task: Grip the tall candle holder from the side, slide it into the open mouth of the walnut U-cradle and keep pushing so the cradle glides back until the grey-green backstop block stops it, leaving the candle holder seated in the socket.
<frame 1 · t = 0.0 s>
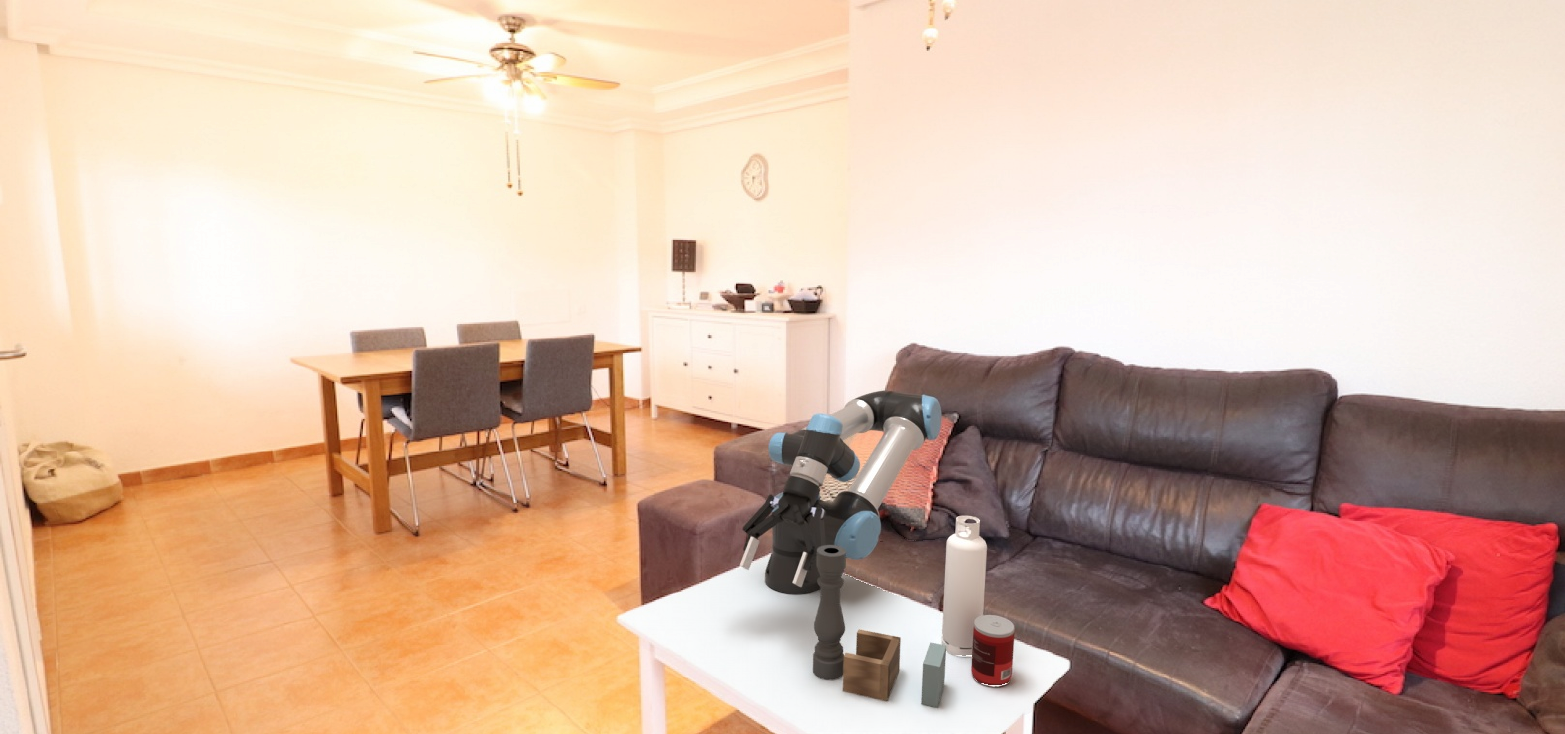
hand: (769, 576, 152), 15 cm above the table, tool tilted 35°, fingers open, 13 cm apart
backstop: (933, 693, 138), on the table
candle holder: (828, 672, 145), on the table
canned food: (990, 677, 144), on the table
cradle: (872, 663, 141), point 4 cm above the table, slide at 0.0 cm
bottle: (961, 647, 155), on the table
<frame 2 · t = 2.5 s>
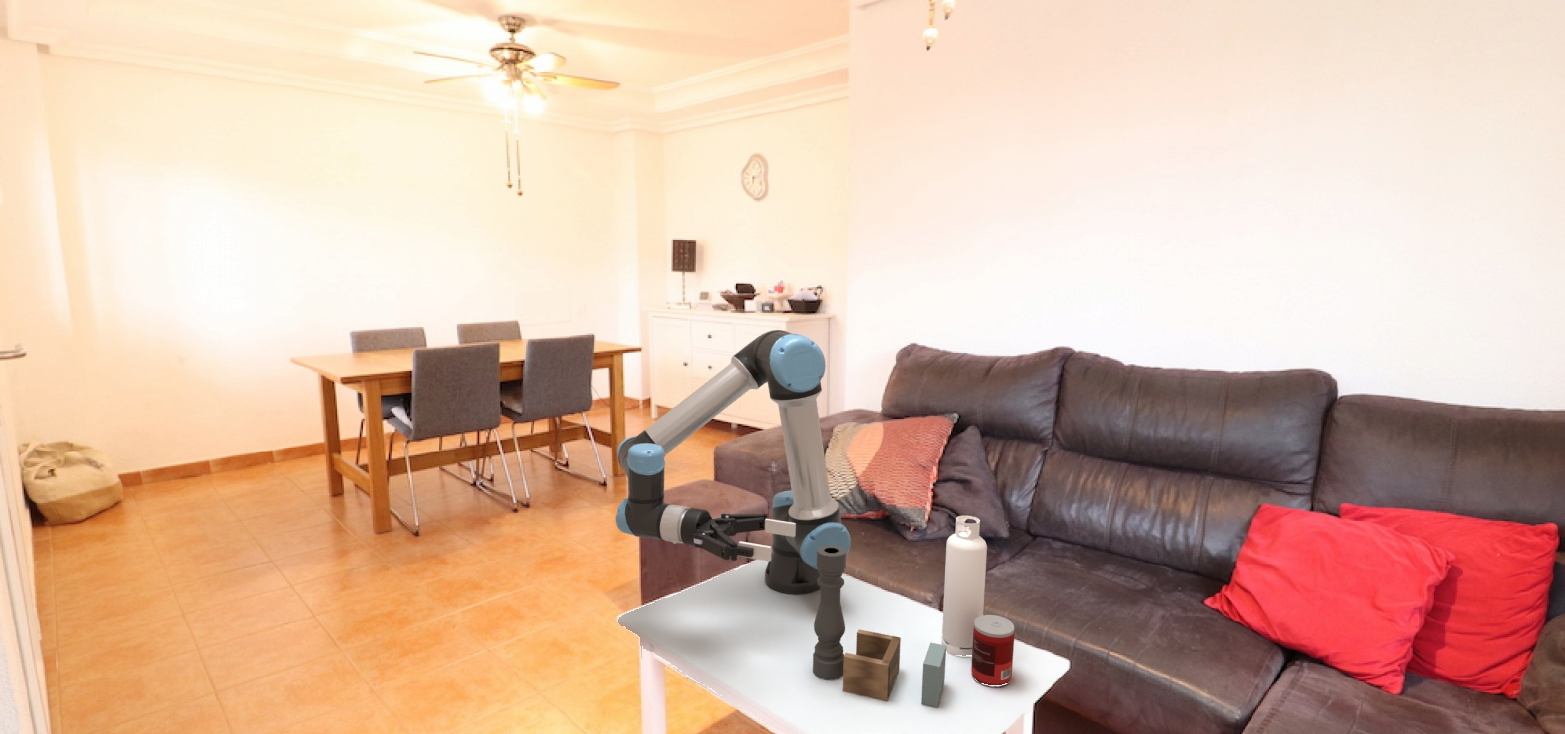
hand: (783, 541, 145), 25 cm above the table, tool horizontal, fingers open, 13 cm apart
nothing on the table moved.
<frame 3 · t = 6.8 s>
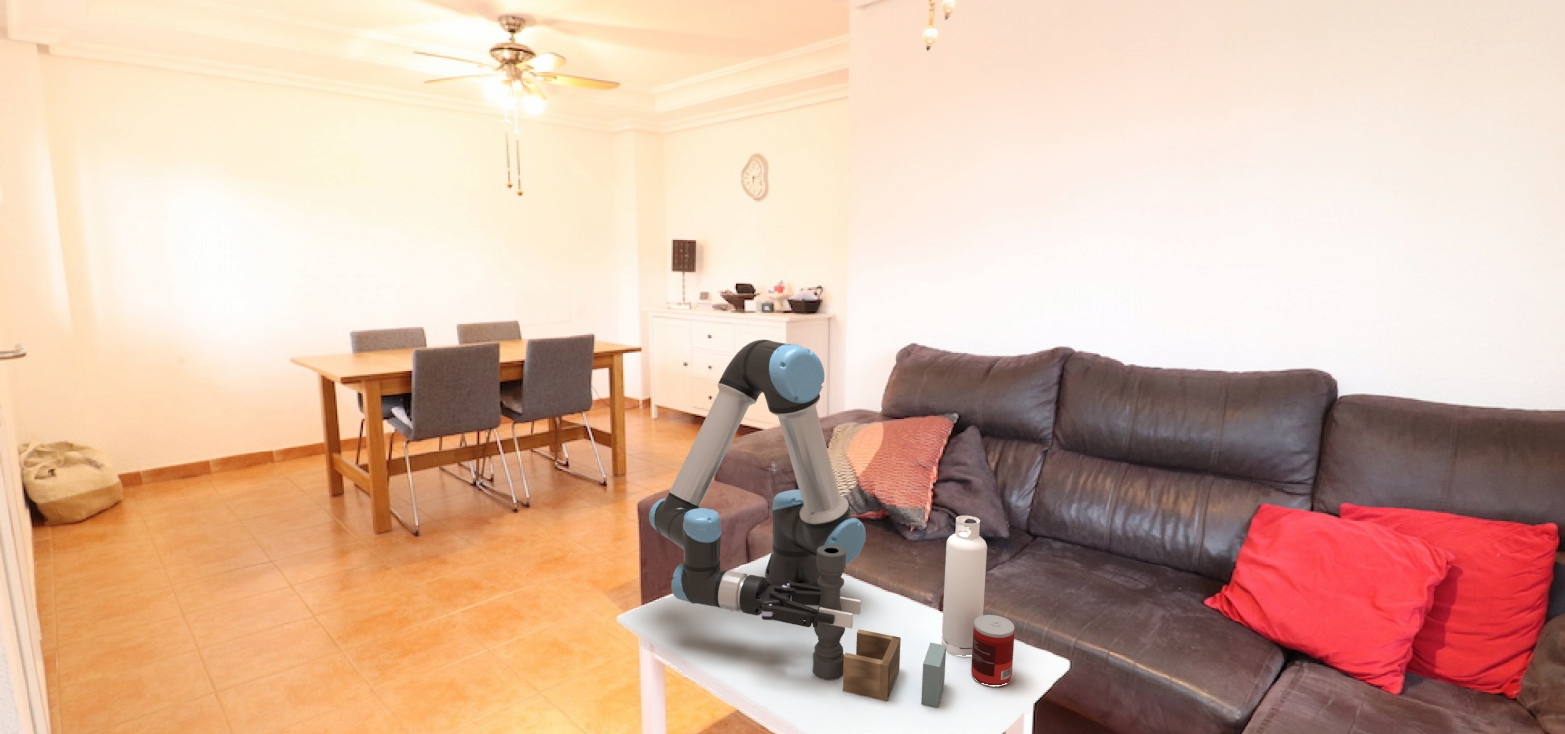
hand: (856, 614, 141), 13 cm above the table, tool horizontal, fingers closed on candle holder, 5 cm apart
candle holder: (828, 672, 145), on the table, touching gripper
everything else where it was.
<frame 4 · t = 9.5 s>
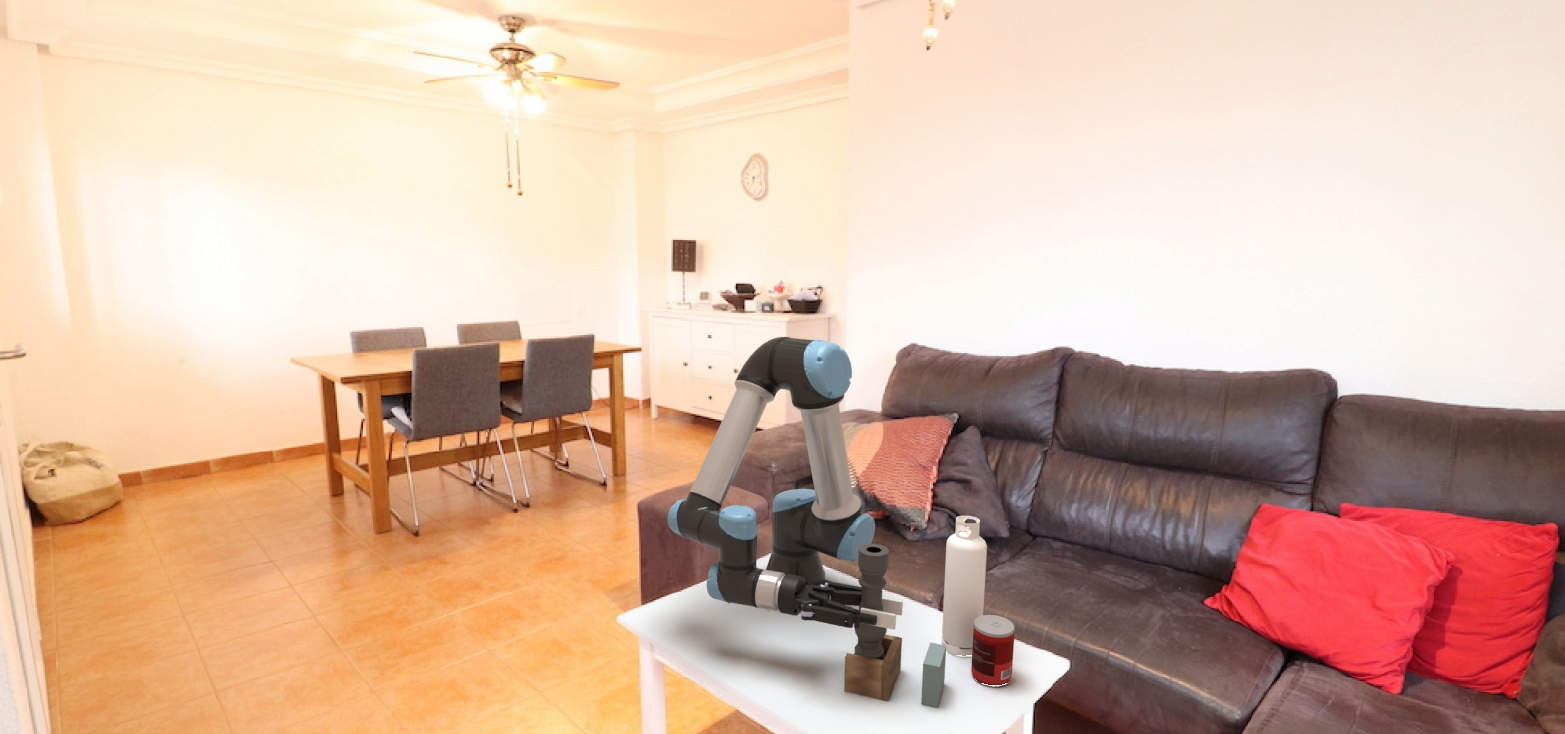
hand: (898, 614, 137), 15 cm above the table, tool horizontal, fingers closed on candle holder, 5 cm apart
candle holder: (868, 673, 141), point 2 cm above the table, touching gripper
everything else where it was.
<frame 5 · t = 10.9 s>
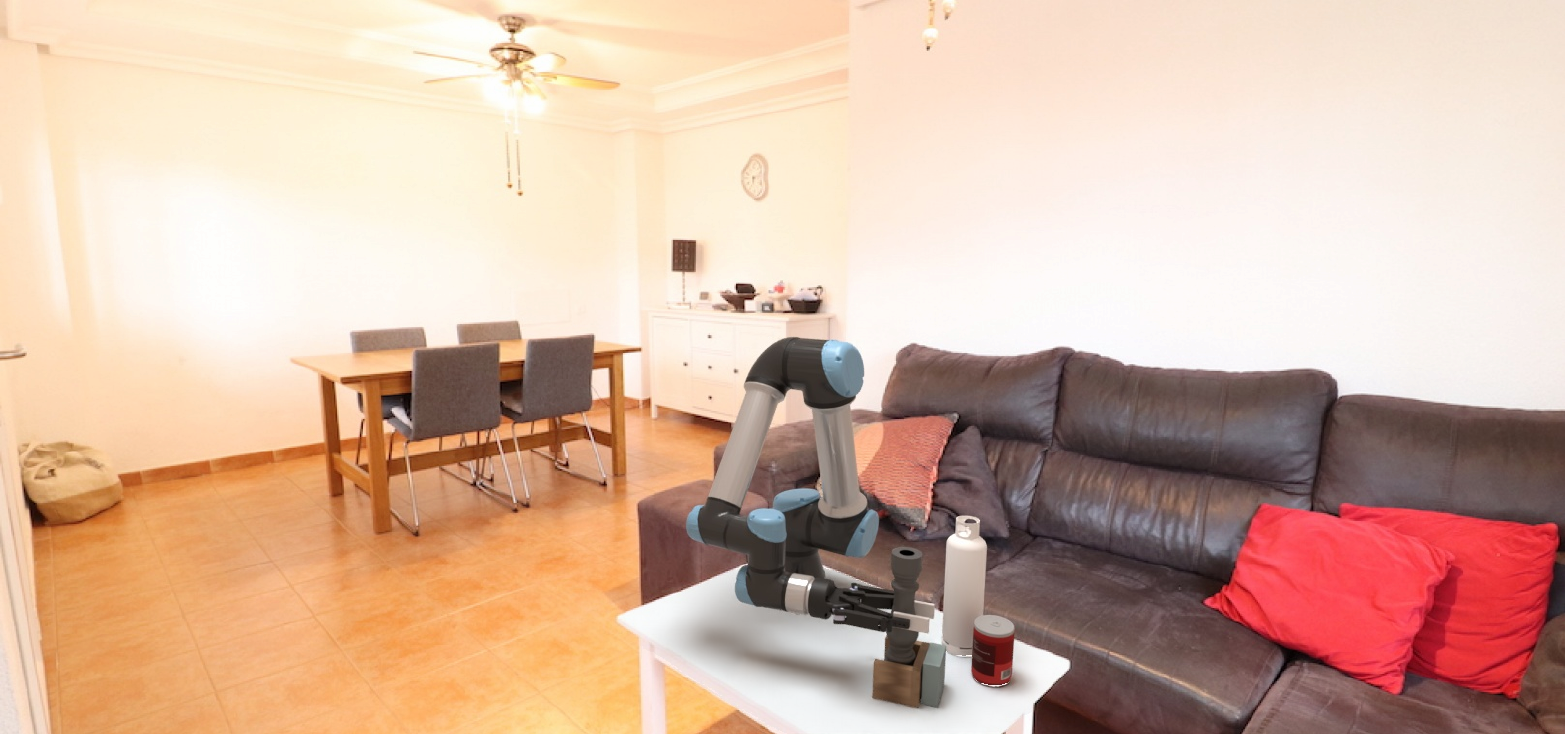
hand: (931, 618, 136), 15 cm above the table, tool horizontal, fingers closed on candle holder, 5 cm apart
candle holder: (899, 678, 140), point 2 cm above the table, touching cradle, gripper
cradle: (901, 669, 139), point 4 cm above the table, slide at 5.7 cm, touching candle holder
everything else where it was.
when the fingers open (13 cm above the table, at t = 12.2 s): candle holder stays where it is, on the table.
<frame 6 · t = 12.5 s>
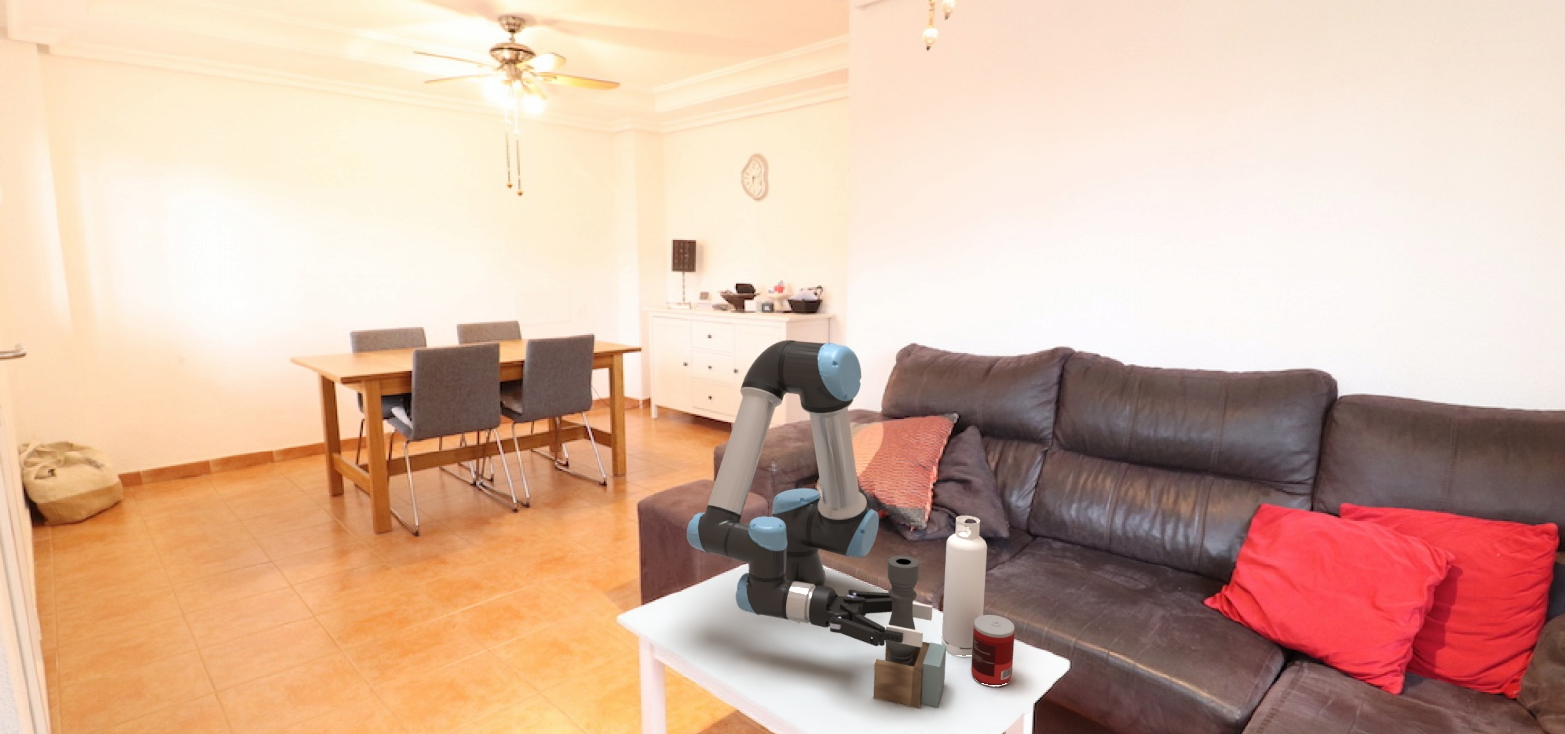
hand: (927, 625, 137), 13 cm above the table, tool horizontal, fingers open, 10 cm apart
candle holder: (900, 687, 140), on the table
cradle: (902, 670, 139), point 3 cm above the table, slide at 5.9 cm
everything else where it was.
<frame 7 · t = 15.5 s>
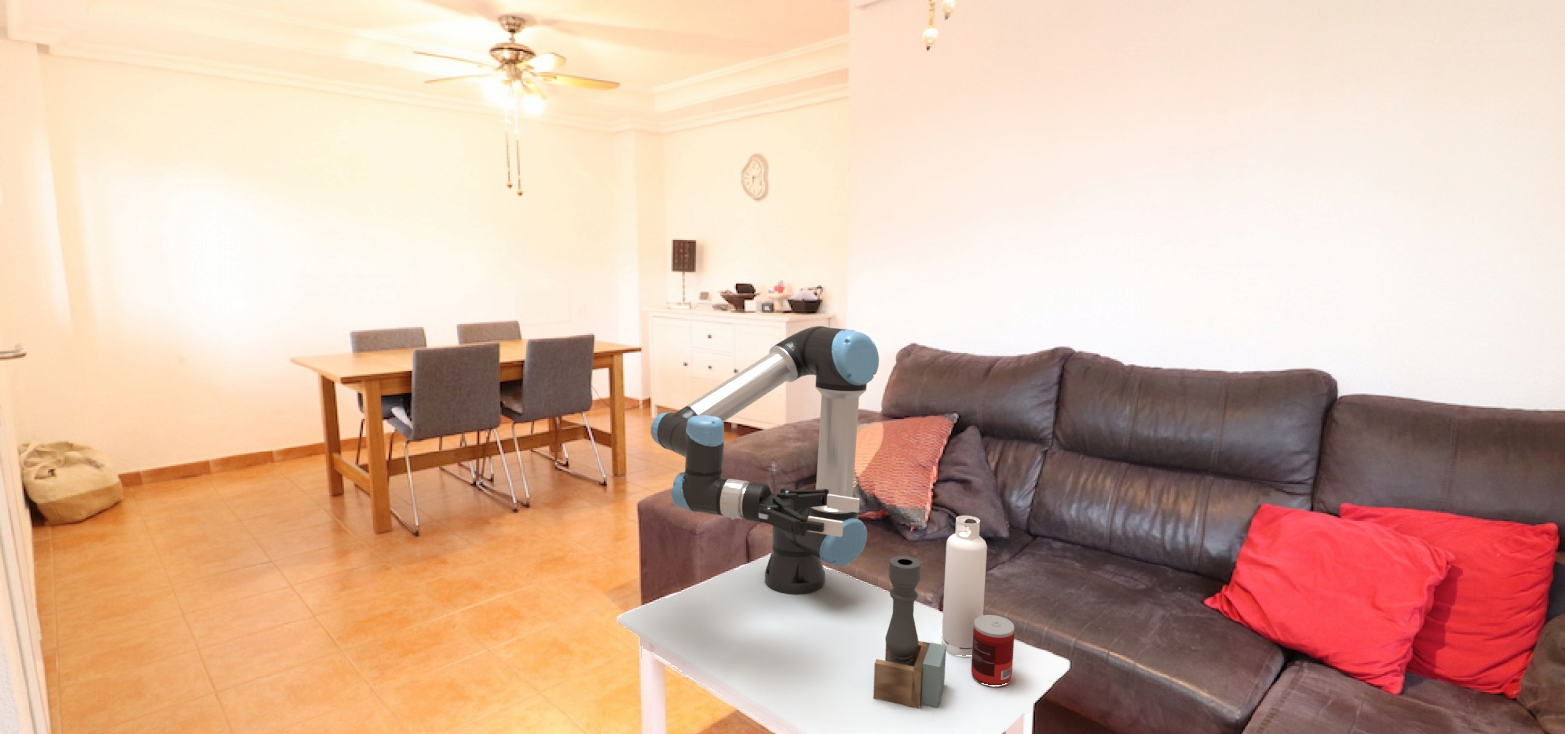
hand: (851, 516, 140), 32 cm above the table, tool horizontal, fingers open, 13 cm apart
nothing on the table moved.
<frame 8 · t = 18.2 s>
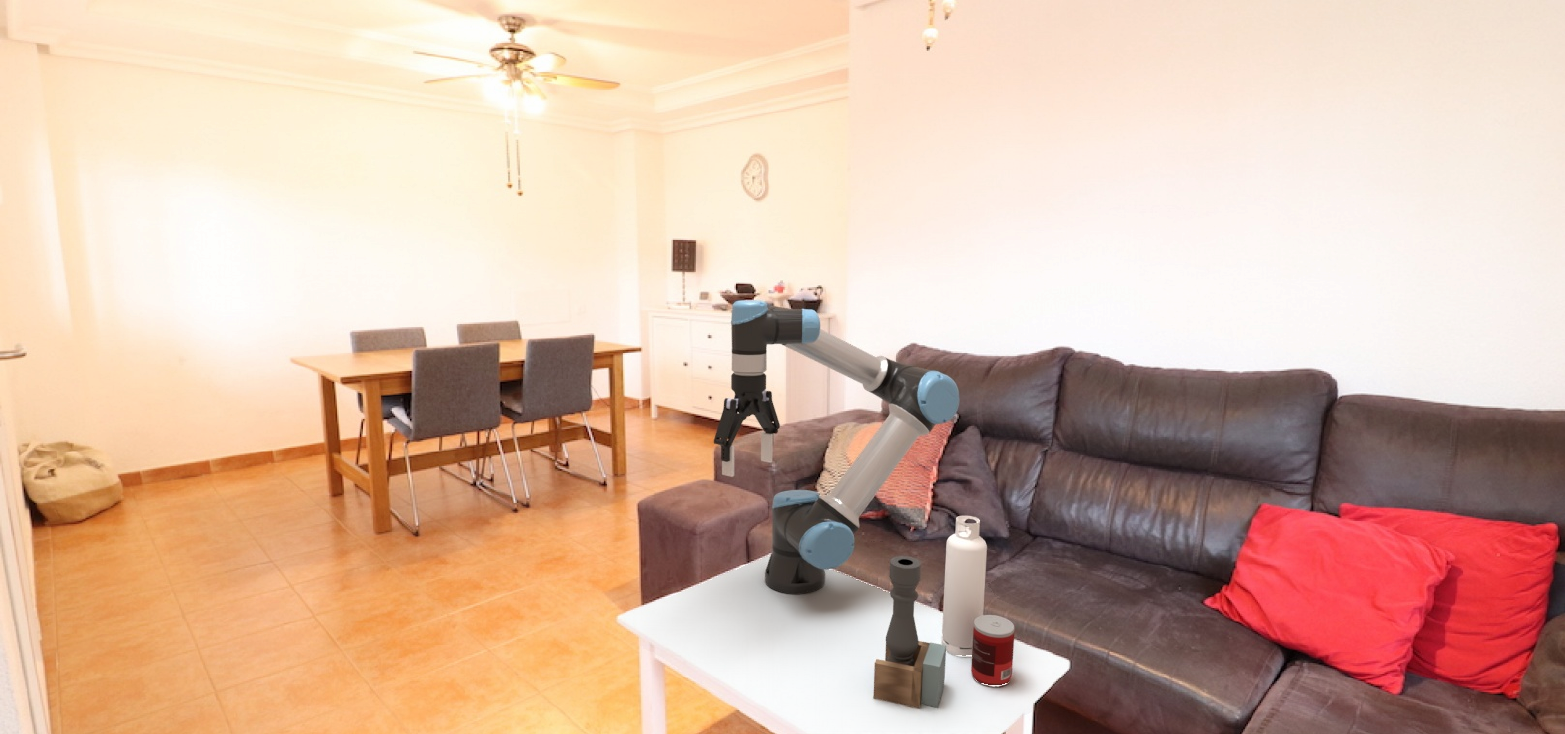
hand: (748, 468, 161), 35 cm above the table, tool pointing down, fingers open, 13 cm apart
nothing on the table moved.
at the end: cradle slide at 5.9 cm; candle holder inside the target area (0.3 cm from its centre), on the table; candle holder tilted 0° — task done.
